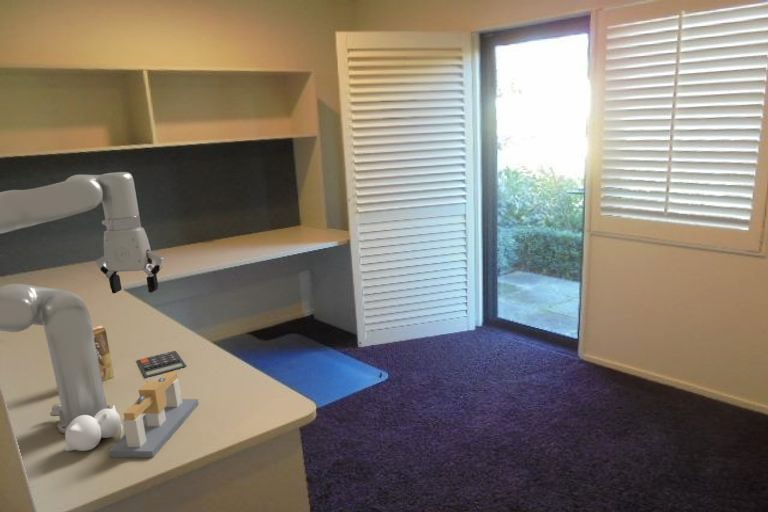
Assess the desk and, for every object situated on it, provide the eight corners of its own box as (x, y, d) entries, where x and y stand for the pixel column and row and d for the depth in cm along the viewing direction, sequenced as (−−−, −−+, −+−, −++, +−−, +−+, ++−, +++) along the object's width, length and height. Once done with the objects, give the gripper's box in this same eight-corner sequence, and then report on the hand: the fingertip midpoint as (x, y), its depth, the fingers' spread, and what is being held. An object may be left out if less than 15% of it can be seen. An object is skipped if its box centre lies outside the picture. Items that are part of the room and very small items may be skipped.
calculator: (175, 349, 178) (186, 365, 165) (175, 352, 178) (187, 368, 166) (136, 359, 172) (145, 376, 159) (136, 362, 172) (145, 379, 160)
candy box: (109, 373, 164) (100, 324, 161) (115, 377, 161) (105, 327, 158) (77, 384, 158) (67, 334, 154) (82, 388, 155) (72, 337, 152)
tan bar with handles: (123, 432, 122) (118, 407, 120) (167, 388, 141) (164, 367, 139) (140, 432, 121) (136, 407, 120) (182, 388, 140) (179, 367, 139)
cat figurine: (113, 393, 130) (60, 415, 121) (138, 425, 126) (85, 450, 117) (107, 417, 134) (55, 439, 125) (131, 449, 131) (79, 475, 121)
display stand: (110, 456, 121) (103, 424, 119) (161, 404, 144) (157, 376, 142) (153, 457, 120) (147, 424, 118) (198, 404, 142) (194, 375, 140)
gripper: (80, 228, 131) (93, 296, 136) (149, 225, 129) (160, 295, 133) (99, 222, 139) (111, 287, 143) (165, 219, 137) (175, 286, 141)
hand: (135, 291), depth 138 cm, fingers open, 9 cm apart
